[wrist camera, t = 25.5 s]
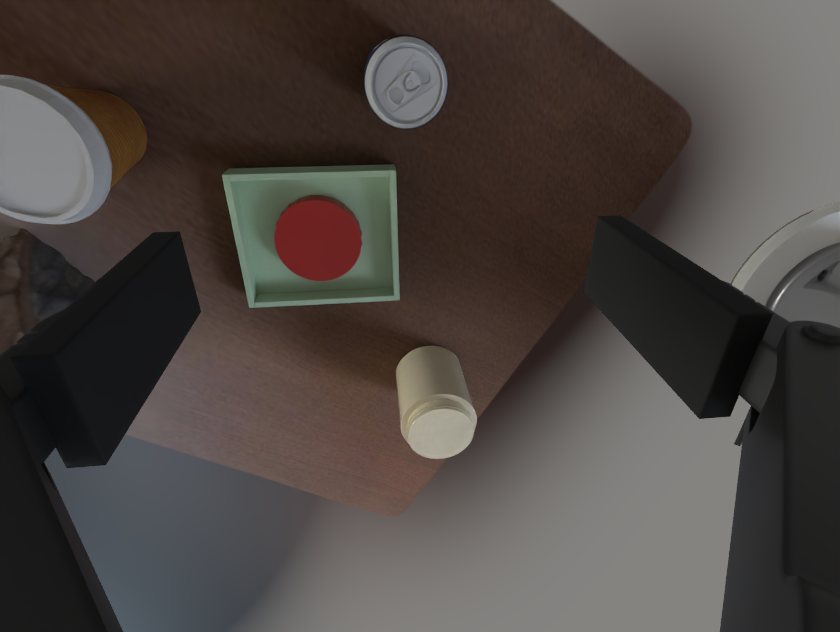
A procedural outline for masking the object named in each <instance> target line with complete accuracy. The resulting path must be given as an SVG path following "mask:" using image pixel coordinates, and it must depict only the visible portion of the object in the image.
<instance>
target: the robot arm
mask: <svg viewBox="0 0 840 632" xmlns="http://www.w3.org/2000/svg"><path fill="white" fill-rule="evenodd" d="M584 293H585V294H586V295H587V296H588V297H589V298H590V299H591V300H592V302H593V303H594V304H595V305H596V306H597V307H598V308H599V309H600V310H601V311H602V313H603V314H604V315H605V316H606V317H607V318H608V319H609V320H610V321H611V322H612V323H613V325H614V326H615V327H616V328H617V329H618V330H619V331H620V332H621V333H622V334H623V336H624V337H625V338H626V339H627V340H628V341H629V342H630V343H631V344H632V345H633V347H634V348H635V349H636V350H637V351H638V352H639V353H640V354H641V355H642V356H643V357H644V359H645V360H646V361H647V362H648V363H649V364H650V365H651V366H652V367H653V368H654V369H655V371H656V372H657V373H658V374H659V375H660V376H661V377H662V378H663V379H664V380H665V382H666V383H667V384H668V385H669V386H670V387H671V388H672V389H673V390H674V391H675V393H676V394H677V395H678V396H679V397H680V398H681V399H682V400H683V401H684V402H685V404H686V405H687V406H688V407H689V408H690V409H691V410H692V411H693V412H694V413H695V414H696V416H697V417H698V418H699V419H702V418H715V417H728V416H730V415H731V413H732V411H733V408H734V406H735V403H736V401H737V399H738V396H739V395H740V396H741V397H742V398H743V399H745V400H746V401H747V402H748V403H749V404H750V405H751V407H750V410H749V412H748V414H747V416H746V419H745V421H744V423H743V425H742V428H741V430H740V432H739V434H738V437H737V439H736V441H735V445H738V446H740V445H741V444H742V450H741V459H740V467H739V475H738V484H737V492H736V501H735V509H734V517H733V526H732V534H731V543H730V551H729V560H728V568H727V576H726V585H725V594H724V603H723V610H722V619H721V627H720V632H840V242H839V243H836V244H833V245H830V246H827V247H825V248H823V249H821V250H819V251H817V252H815V253H813V254H812V255H810V256H808V257H807V258H805V259H804V260H802V261H801V262H800V263H799V264H797V265H796V266H795V267H794V268H793V269H791V270H790V271H789V272H788V273H787V274H786V275H785V276H784V277H783V279H782V280H781V281H780V282H779V283H778V285H777V286H776V287H775V289H774V290H773V292H772V294H771V295H770V297H769V299H768V301H767V303H766V306H764V305H762V304H761V303H759V302H755V300H754V299H753V298H751V297H750V296H748V295H747V294H743V292H742V291H740V290H739V289H737V288H736V287H734V286H732V285H731V284H729V283H727V282H724V281H722V280H719V279H718V278H717V277H715V276H713V275H712V274H711V273H709V272H707V271H706V270H704V269H703V268H701V267H700V266H698V265H697V264H695V263H693V262H692V261H690V260H689V259H687V258H686V257H684V256H683V255H681V254H679V253H678V252H676V251H675V250H673V249H672V248H670V247H668V246H667V245H665V244H664V243H662V242H661V241H659V240H658V239H656V238H654V237H653V236H651V235H650V234H648V233H647V232H645V231H644V230H642V229H641V228H639V227H637V226H636V225H634V224H633V223H631V222H630V221H628V220H627V219H625V218H624V217H622V216H598V219H597V225H596V230H595V235H594V241H593V246H592V251H591V257H590V262H589V267H588V273H587V278H586V283H585V289H584ZM200 312H201V310H200V306H199V302H198V299H197V295H196V291H195V287H194V284H193V280H192V276H191V272H190V268H189V265H188V261H187V257H186V253H185V250H184V246H183V242H182V238H181V234H180V232H155V233H152V234H151V235H150V236H149V237H148V238H146V239H145V240H144V241H143V242H142V243H141V244H139V245H138V246H137V247H136V248H135V249H134V250H133V251H131V252H130V253H129V254H128V255H127V256H126V257H124V258H123V259H122V260H121V261H120V262H119V263H118V264H116V265H115V266H114V267H113V268H112V269H111V270H110V271H108V272H107V273H106V274H105V275H104V276H103V277H101V278H100V279H99V280H98V281H97V282H96V283H95V284H93V285H92V286H91V287H90V288H89V289H88V290H86V291H85V292H84V293H83V294H82V295H81V296H80V297H78V298H77V299H76V300H75V301H74V302H73V303H72V304H70V305H69V306H68V307H67V308H66V309H63V310H61V311H59V312H57V313H55V314H53V315H51V316H49V317H47V318H45V319H43V320H42V321H41V322H39V323H38V324H37V325H36V326H35V327H33V328H32V329H31V330H30V331H29V332H28V334H25V335H24V336H23V337H22V338H20V339H19V340H18V341H17V342H16V345H12V346H11V347H10V348H8V349H7V350H6V351H5V352H4V353H3V354H1V355H0V632H123V631H122V628H121V626H120V624H119V622H118V620H117V617H116V615H115V613H114V611H113V609H112V607H111V604H110V602H109V600H108V598H107V596H106V594H105V591H104V589H103V587H102V585H101V583H100V581H99V579H98V576H97V574H96V572H95V570H94V568H93V566H92V563H91V561H90V559H89V557H88V555H87V552H86V550H85V548H84V546H83V544H82V542H81V539H80V537H79V535H78V533H77V531H76V529H75V526H74V524H73V522H72V520H71V518H70V515H69V513H68V511H67V509H66V507H65V505H64V502H63V500H62V498H61V496H60V494H59V492H58V490H57V487H56V485H55V483H54V481H53V479H52V477H51V474H50V472H49V471H48V469H47V467H46V465H45V463H44V461H45V460H46V459H47V457H48V456H49V455H50V453H51V452H52V451H53V450H54V448H55V447H56V448H57V450H58V452H59V454H60V456H61V458H62V460H63V462H64V464H65V466H66V467H67V468H73V467H87V466H99V465H106V464H107V462H108V461H109V459H110V457H111V456H112V454H113V453H114V451H115V449H116V448H117V446H118V444H119V443H120V441H121V440H122V438H123V436H124V435H125V433H126V432H127V430H128V428H129V427H130V425H131V424H132V422H133V420H134V419H135V417H136V415H137V414H138V412H139V411H140V409H141V407H142V406H143V404H144V403H145V401H146V399H147V398H148V396H149V395H150V393H151V391H152V390H153V388H154V386H155V385H156V383H157V382H158V380H159V378H160V377H161V375H162V374H163V372H164V370H165V369H166V367H167V366H168V364H169V362H170V361H171V359H172V357H173V356H174V354H175V353H176V351H177V349H178V348H179V346H180V345H181V343H182V341H183V340H184V338H185V337H186V335H187V333H188V332H189V330H190V328H191V327H192V325H193V324H194V322H195V320H196V319H197V317H198V316H199V314H200Z"/></svg>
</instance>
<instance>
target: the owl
mask: <svg viewBox="0 0 840 632" xmlns="http://www.w3.org/2000/svg"><path fill="white" fill-rule="evenodd" d="M93 284H95V282H94V281H93V280H92V279H91V278H89V277H86V276H84V275H83V274H81V273H80V272H79V271H78V270H77V269H76V268H74V267H73V266H71V265H69V263H68V262H67V261H66V260H65V258H64V257H63V256H62V255H61V254H60V253H59V252H58V251H57V250H55V249H53V248H52V247H50V246H48V245H46V244H44V243H42V242H41V241H40V240H39V239H37V238H36V237H35V236H34V235H32V234H30V233H29V232H28V231H27V230H24V229H20V231H19V232H18V234H17V235H15V236H11V237H7V238H4V239H3V240H2V241H1V242H0V355H1V354H3V353H4V352H5V351H6V350H7V349H8V348H10V347H11V346H12V345H16V342H17V341H18V340H19V339H20V338H22V337H23V336H24V335H25V334H28V332H29V331H30V330H31V329H32V328H33V327H35V326H36V325H37V324H38V323H39V322H41V321H42V320H43V319H45V318H47V317H49V316H51V315H53V314H55V313H57V312H59V311H61V310H63V309H66V308H67V307H68V306H69V305H70V304H72V303H73V302H74V301H75V300H76V299H77V298H78V297H80V296H81V295H82V294H83V293H84V292H85V291H86V290H88V289H89V288H90V287H91V286H92V285H93Z"/></svg>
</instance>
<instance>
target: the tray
mask: <svg viewBox="0 0 840 632" xmlns="http://www.w3.org/2000/svg"><path fill="white" fill-rule="evenodd" d="M222 179H223V184H224V188H225V193H226V198H227V203H228V208H229V213H230V218H231V222H232V227H233V232H234V237H235V242H236V247H237V251H238V256H239V261H240V266H241V271H242V276H243V281H244V285H245V290H246V295H247V300H248V305H249V308H255V307H276V306H296V305H315V304H335V303H355V302H374V301H393V300H400V296H399V259H398V222H397V186H396V169H395V165H394V164H392V165H352V166H312V167H272V168H232V169H228V170H227V171H226V172H224V173H223V174H222ZM310 195H323V196H328V197H331V198H334V199H336V200H338V201H340V202H342V203H344V204H345V205H346V206H347V207H348V208H349V209H350V210H351V211H353V214H354V215H355V217H356V218H357V220H359V225H360V229H361V230H362V246H361V252H360V256H359V258H358V260H357V262H356V263H355V265H354V266H353V267H352V268H351V269H350V270H349V271H348V272H347V273H346V274H344V275H342V276H341V277H338V278H336V279H333V280H328V281H313V280H308V279H305V278H302V277H300V276H298V275H296V274H295V273H293V272H292V271H290V270H289V269H288V268H287V267H286V266H285V265H284V263H283V262H282V261H281V259H280V258H279V256H278V254H277V251H276V248H275V243H274V234H275V228H276V223H277V221H279V218H280V215H281V213H282V211H284V210H285V209H286V208H287V207H288V206H289V204H290V203H293V202H294V201H296V200H298V199H299V198H302V197H305V196H310Z"/></svg>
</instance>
